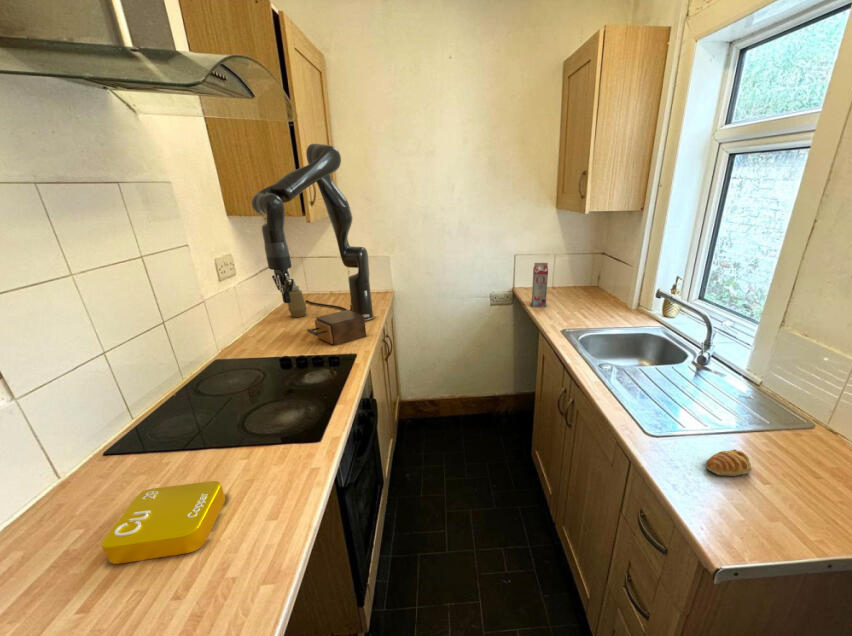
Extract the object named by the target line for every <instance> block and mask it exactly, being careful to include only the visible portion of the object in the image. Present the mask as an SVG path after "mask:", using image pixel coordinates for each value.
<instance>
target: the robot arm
mask: <svg viewBox="0 0 852 636" xmlns="http://www.w3.org/2000/svg"><path fill="white" fill-rule="evenodd" d="M305 155H306V161H307V165H304V166H302V167H300V168H299V167H298V168H297V169H294V170H292V171H290V172H288V173H286V174H285V175H284V176H282V177H280V178H279V179H278V180H277V181H276V182H275V183H274V184H272V185H269V186H267V187H265V188H263V189H261V190H259V191H257V193H255V194H254V195H253V197H252V198H251V208H252V210H253V211H254V212H255V213H256V214H258V215H260V216H266V223H264V224H262V225H261V234H262V239H263V243H264V244H263V245H264V252H265V256H266V257H265V258H266V262H267V268H268V269H269V270H272V271H273V275H272V276H271V278H272V280H273V282H274V285H275V287H276V288H277V290H278V291H279V292H280V293H281V297H282V302H283V303H284V304H288V303H290V302H291V299H290V294H289V292H291V291H292V288H293V282H295V280H294V281H293V279H294V278H291V275H290V272H289V269H291V268H292V266H293V265H292V261H291V255H290V250H289V249H290V248H289V246H288V243H287V238H286V232H285V220H286V219H285V218H286V207H285V203H290V202H291V201H293V200H294V199H295V198H296V197H298V196H300V194H301V193H303V192H304V191H305V190H306V189H308V188H309V187H311V186H312V185H313V184H315V183H316V185H317V187H318V189H319V193H320V195H321V199H322V200H323V204H324V206H325V210H326V213H327V215H328V218H329V221H330V224H331V226H332V228H333V232H334V235H335V239H336V243H337V247H338V251H339V256H340V259H341V262H342V264H343V265H344V267H346V268H348V269H349V268H350V269H351V268H352V269H357V273H355V274H352V275H350V276H348V277H347V278H348V279H347V280H348V287H349V296H350V299H349V301H350V305H349V310H350V311H352V312H355V313H358V314H360V315H363V316H364V320H365V322H367V321H372V320H373V319H374V312H373V301H372V293H371V285H370V264H369V263H370V262H369V254H368V251H367V249H366V247H363V246H351V244H350V243H349V233H350V229H351V227H352V224H353V214H352V210H351V207H350V204H349V201H348V199H347V197H345V195H344V194H343V193H342V191H341V190H340V189H339V187H338V186H337V185H336V183H335V181H334V180H333V178H332V176H331V174H333V173H335V172H336V171H338V169H340V167H341V164H342V157H341V154H340V151H339V150H338V148H336V147H335V146H333V145H329V144H321V143H311V144H309V145H308V146H307V148H306V153H305ZM305 303H308V304H311V305H315V306H323V307H329V308H336V309H340V310H342V311H345V310H348V309H347V308H345V307H342V306H338V305H333V304H326V303H320V302H315V301H310V300H307V299H305Z"/></svg>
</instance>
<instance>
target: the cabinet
mask: <svg viewBox="0 0 852 636" xmlns="http://www.w3.org/2000/svg"><path fill="white" fill-rule="evenodd" d="M315 320H319V321H322V322H324V323H327V324H329V325H331V329H332V335H333V342H334V343H332V344H331V345H333V346H338V345H342V344H345V343H348V342H351V341H356V340H359V339H362V338H365V337H367V328H366V321H365V320H364V316H363V315H360V314H358V313H355V312H352V311H350V309H347V310H342V311H336V312H333V313H329V314H328V313H327V314H324V315H321V316H316V317H315Z"/></svg>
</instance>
